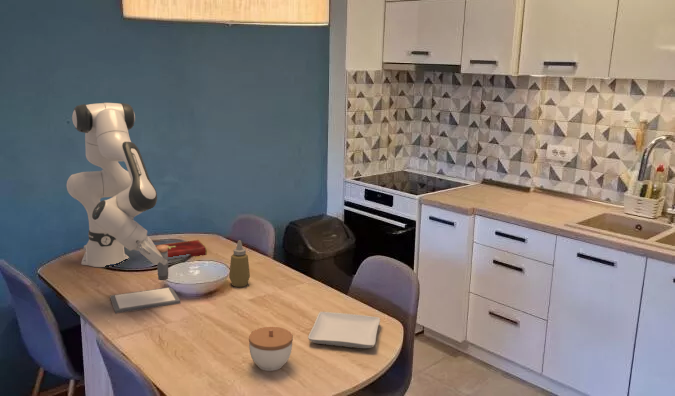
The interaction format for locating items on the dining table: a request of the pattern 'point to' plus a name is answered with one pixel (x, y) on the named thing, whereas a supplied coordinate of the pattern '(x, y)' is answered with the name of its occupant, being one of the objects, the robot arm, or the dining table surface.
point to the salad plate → (345, 330)
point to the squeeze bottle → (239, 267)
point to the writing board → (144, 299)
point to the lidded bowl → (270, 347)
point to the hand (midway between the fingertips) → (164, 260)
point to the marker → (162, 268)
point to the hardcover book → (186, 248)
